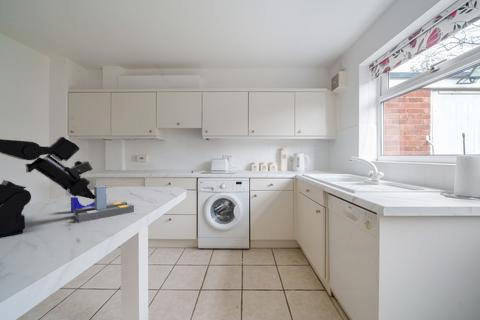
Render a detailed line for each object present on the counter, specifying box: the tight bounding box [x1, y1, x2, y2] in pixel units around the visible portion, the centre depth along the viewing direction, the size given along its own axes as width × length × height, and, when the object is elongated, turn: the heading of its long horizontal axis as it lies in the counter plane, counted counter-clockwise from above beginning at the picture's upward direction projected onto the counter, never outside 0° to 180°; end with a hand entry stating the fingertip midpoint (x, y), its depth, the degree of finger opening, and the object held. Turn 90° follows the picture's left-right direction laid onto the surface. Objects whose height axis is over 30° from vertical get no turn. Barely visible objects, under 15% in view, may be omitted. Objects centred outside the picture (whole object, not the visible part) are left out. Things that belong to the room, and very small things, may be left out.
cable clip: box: [70, 196, 95, 214], centre depth 93 cm, size 12×4×6 cm, turn 144°
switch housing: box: [73, 201, 135, 223], centre depth 85 cm, size 18×10×3 cm, turn 136°
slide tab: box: [93, 185, 107, 210], centre depth 84 cm, size 3×4×10 cm
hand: (94, 198), depth 83 cm, fingers closed, pressing on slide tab
